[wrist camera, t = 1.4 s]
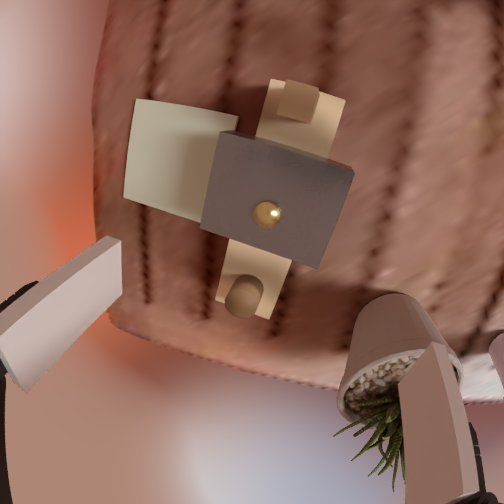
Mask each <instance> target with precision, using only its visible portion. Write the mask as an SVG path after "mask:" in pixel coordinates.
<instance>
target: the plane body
mask: <svg viewBox="0 0 504 504" xmlns="http://www.w3.org/2000/svg"><path fill="white" fill-rule="evenodd" d="M345 101H346V100H343V99H340V98H337V97H334V96H331V95H328V94H325V93H322V92H319V89H318V88H317V87H314V86H310V85H307V84H303V83H300V82H296V81H292V80H288V79H286V82H283V81H279V80H275V79H271V81H270V84H269V88H268V92H267V95H266V99H265V102H264V106H263V110H262V113H261V117H260V121H259V125H258V128H257V132H256V136H257V137H261V138H265V139H268V140H272V141H275V142H278V143H282V144H285V145H288V146H292V147H295V148H298V149H301V150H304V151H307V152H310V153H313V154H316V155H319V156H322V157H325V158H328V155H329V152H330V149H331V146H332V143H333V140H334V137H335V133H336V130H337V127H338V124H339V120H340V117H341V114H342V111H343V107H344V104H345ZM291 262H292V260H290V259H287V258H284V257H281V256H278V255H275V254H272V253H270V252H267V251H264V250H261V249H258V248H255V247H252V246H249V245H247V244H244V243H241V242H238V241H235V240H232V239H229V243H228V247H227V251H226V256H225V260H224V264H223V268H222V273H221V277H220V281H219V286H218V290H217V294H216V299H215V300H217V301H219V302H222V303H225V307H226V309H227V310H228V311H229V312H230V313H231V314H232V315H233V316H235V317H238V318H249V317H251V316H253V315H257V316H260V317H263V318H266V319H270V316H271V314H272V311H273V309H274V306H275V304H276V301H277V299H278V296H279V293H280V291H281V288H282V285H283V283H284V280H285V278H286V275H287V272H288V270H289V267H290V264H291Z"/></svg>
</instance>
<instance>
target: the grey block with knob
mask: <svg viewBox="0 0 504 504" xmlns="http://www.w3.org/2000/svg"><path fill="white" fill-rule="evenodd" d="M354 174H355V173H354V171H353V169H352V168H351V167H350V166H347V165H344V164H342V163H339V162H336V161H333V160H331V159H328V158H325V157H322V156H319V155H316V154H313V153H310V152H307V151H304V150H301V149H298V148H295V147H292V146H288V145H285V144H282V143H278V142H275V141H272V140H268V139H265V138H261V137H257V136H254V135H250V134H246V133H242V132H238V131H234V130H228V131H220V132H219V137H218V141H217V145H216V150H215V154H214V159H213V163H212V168H211V173H210V177H209V182H208V187H207V192H206V197H205V202H204V207H203V212H202V217H201V223H200V229H203V230H206V231H209V232H212V233H215V234H218V235H221V236H223V237H226V238H229V239H232V240H235V241H238V242H241V243H244V244H247V245H249V246H252V247H255V248H258V249H261V250H264V251H267V252H270V253H272V254H275V255H278V256H281V257H284V258H287V259H290V260H293V261H295V262H298V263H301V264H304V265H307V266H310V267H313V268H315V269H318V267H319V264H320V262H321V259H322V257H323V255H324V252H325V250H326V247H327V245H328V242H329V240H330V237H331V235H332V233H333V230H334V227H335V225H336V222H337V220H338V217H339V215H340V212H341V209H342V207H343V204H344V202H345V199H346V196H347V193H348V191H349V188H350V185H351V183H352V180H353V177H354Z"/></svg>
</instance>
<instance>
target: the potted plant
mask: <svg viewBox="0 0 504 504" xmlns="http://www.w3.org/2000/svg"><path fill="white" fill-rule="evenodd" d="M431 342H435V343H439V344H442V345H445V347H446V350H447V352H448V355H449V358H450V361H451V364H452V367H453V370H454V373H455V376H456V380H457V383H458V386H459V390H460V388H461V386H462V382H463V378H464V371H463V367H462V365H461V363H460V361H459V359H458V357H457V356H456V354H455V352H454V351H453V350H452V349H451V348H450V347H449V346H448V344H447V342H446V341H445V339H444V338H443V336H442V335H441V333H440V332H439V330H438V329H437V327H436V326H435V324H434V323H433V321H432V320H431V318H430V317H429V315H428V314H427V312H426V311H425V310H424V308H423V307H422V306H421V305H420V304H419V303H418V302H417V301H416V299H414V298H412V297H410V296H408V295H404V294H387V295H384V296H380V297H378V298H376V299H374V300H372V301H371V302H369V303H368V304H367V305H366V306H364V308H363V309H362V310H361V311H360V313H359V315H358V317H357V319H356V322H355V324H354V330H353V335H352V340H351V345H350V350H349V355H348V360H347V364H346V369H345V373H344V376H343V378H342V380H341V383H340V387H339V391H338V395H337V408H338V410H339V411H340V413H341V415H342V416H343V417H344V418H346V419H347V420H348V421H349V422H351V423H352V424H350V425H349V426H347V427H345V428H343V429H342V430H340V431H339V432H338V433H336V434H335V435H334V436H336V435H337V434H339V433H341V432H343V431H344V430H346V429H348V428H350V427H353V426H354V425H358V426H360V427H363V428H362V429H360V430H359V431H358V432H356V433H355V434H354V437H356V436H358V435H359V434H361V433H362V432H364V431H365V430H367V429H375V432H374V434H373V436H372V437H371V438H370V440H369V441H368V442H367V444H366V445H365V446H364V447H363V449H362V450H361V451H360V453H359V454H358V455H357V456H355V457H354V458H353V459H352V460H351V461H353V460H354V459H355V458H357V457H358V456H359V455H361V454H362V453H363V452H364V451H367V450H369V449H371V448H373V447H375V446H377V445H378V447H379V450H380V452H381V454H382V455H383V458H382V460H381V461H380V463H379V464H378V465H377V467H376V468H375V469H374V470H373V471H372V472H371V473H370V474H369V475H368V476H370V475H371V474H372V473H373V472H375V471H376V470H377V469H378V468H379V467H380V466H381V464H382V463H383V462H384V461H385V460H386V461H387V462H386V464H385V466H384V467H383V469H382V470H381V471H380V472H379V474H378V475H380V474H381V473H383V472H384V471H385V470H386V469H387V468H388V467H389V466H391V467H393V466H392V465H391V463H392V461H393V460H394V458H395V466H394V474H393V483H392V488H393V492H394V482H395V477H396V472H397V466H398V459H399V450H400V455H401V464H402V472H403V478H404V480H405V455H404V438H403V426H402V415H401V406H400V397H399V390H398V383H399V382H400V381H401V380H402V379H403V377H404V376H405V375H406V374H407V373H408V371H409V370H410V369H411V368H412V367H413V365H414V364H415V363H416V362H417V360H418V359H419V358H420V357H421V355H422V354H423V353H424V351H425V350H426V349H427V347H428V346H429V345H430V343H431ZM467 404H468V403H467ZM467 404H464V406H465V405H467ZM334 436H333V437H334ZM378 436H379V438H378V441H377V442H376V443H375V444H373V445H371V444H372V443H373V442H374V441H375V440H376V438H377V437H378ZM389 437H390V439H389V444H388V448H387V451H386V453H384V452H383V449H382V442H383V441H384V440H386V439H387V438H389ZM370 445H371V446H370ZM391 449H392V450H391ZM390 451H391V452H390ZM389 453H390V455H389ZM388 455H389V458H387V456H388Z"/></svg>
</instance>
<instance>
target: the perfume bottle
mask: <svg viewBox="0 0 504 504" xmlns="http://www.w3.org/2000/svg"><path fill="white" fill-rule="evenodd" d="M489 354H490V356H491V358H492V361H493V363H494V365H495V368H496V370H497V372H498V375H499V377H500V380H501V382H502V385H503V388H504V333H502V334H500V335H499V336H497V337H496V338H495V339H494V340H493V342H492V343H491V345H490V347H489ZM503 398H504V397H503Z"/></svg>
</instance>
